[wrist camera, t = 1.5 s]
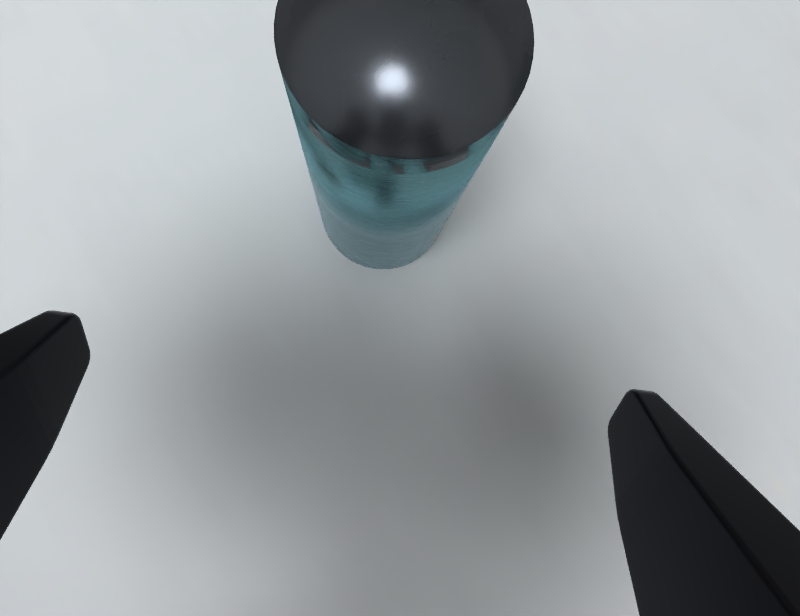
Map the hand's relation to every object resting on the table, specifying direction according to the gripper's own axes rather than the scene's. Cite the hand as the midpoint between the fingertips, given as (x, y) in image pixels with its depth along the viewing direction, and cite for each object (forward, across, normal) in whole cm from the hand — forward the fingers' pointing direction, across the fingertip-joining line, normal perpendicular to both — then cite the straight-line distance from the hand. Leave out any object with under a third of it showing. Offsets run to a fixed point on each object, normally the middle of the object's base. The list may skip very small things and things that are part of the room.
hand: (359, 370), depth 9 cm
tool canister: (+14, 0, +4) cm, 14 cm away
